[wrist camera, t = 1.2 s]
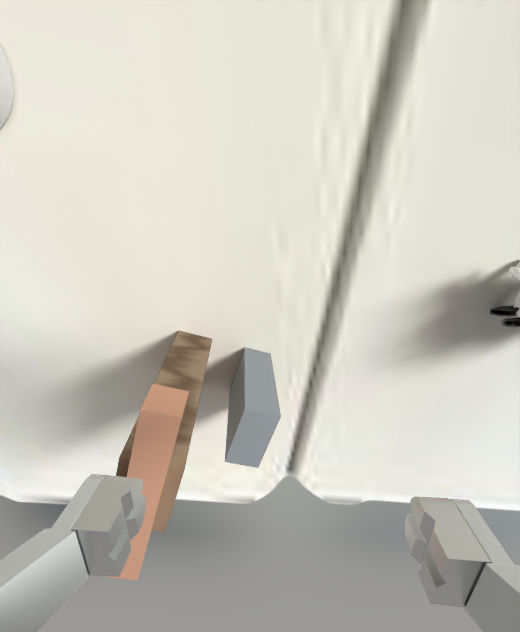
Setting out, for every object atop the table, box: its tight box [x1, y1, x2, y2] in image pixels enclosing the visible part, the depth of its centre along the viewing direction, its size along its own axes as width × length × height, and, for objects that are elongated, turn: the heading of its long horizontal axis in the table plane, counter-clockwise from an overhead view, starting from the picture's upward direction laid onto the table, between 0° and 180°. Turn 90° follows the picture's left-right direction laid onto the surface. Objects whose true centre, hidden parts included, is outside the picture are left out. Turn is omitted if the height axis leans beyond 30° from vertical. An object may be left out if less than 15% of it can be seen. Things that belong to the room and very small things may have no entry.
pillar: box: [116, 331, 212, 532], centre depth 41 cm, size 6×10×26 cm, turn 162°
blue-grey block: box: [225, 348, 281, 468], centre depth 47 cm, size 5×10×16 cm, turn 162°
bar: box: [107, 383, 189, 580], centre depth 26 cm, size 3×22×3 cm, turn 162°
